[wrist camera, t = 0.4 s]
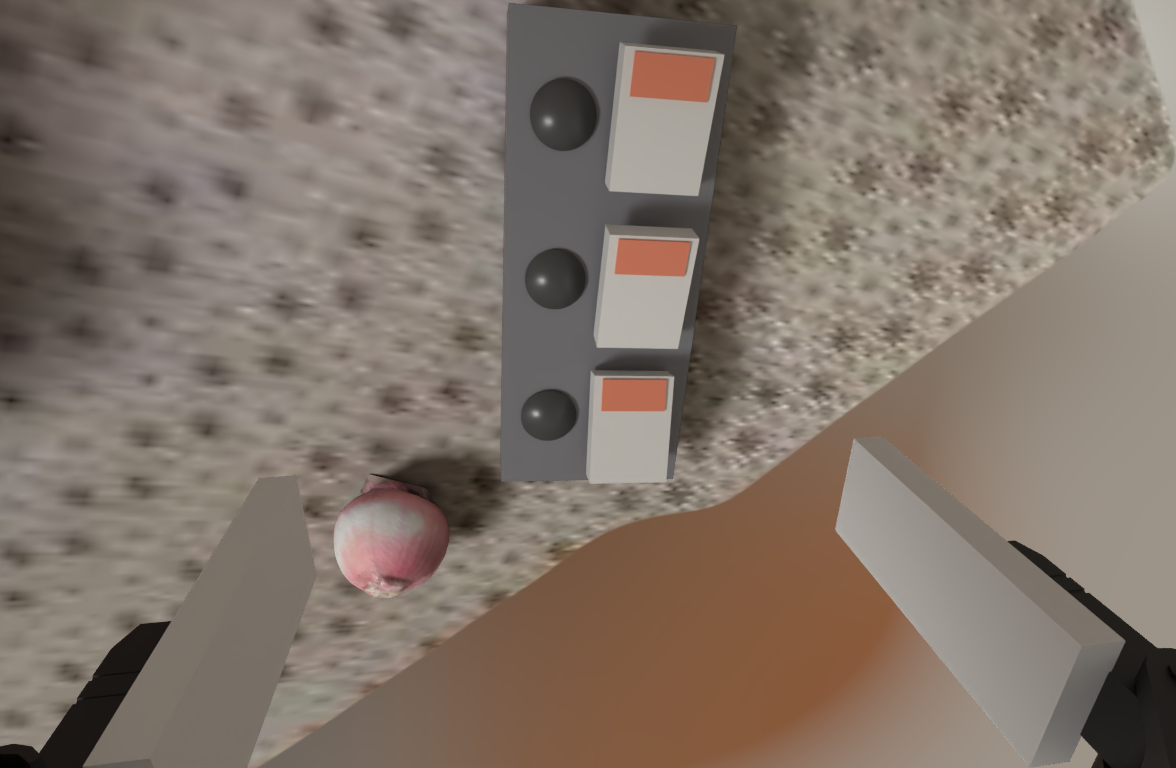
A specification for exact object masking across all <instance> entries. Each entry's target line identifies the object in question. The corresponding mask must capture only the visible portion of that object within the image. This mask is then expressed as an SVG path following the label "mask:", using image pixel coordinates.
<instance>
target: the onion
mask: <svg viewBox="0 0 1176 768" xmlns="http://www.w3.org/2000/svg"><path fill="white" fill-rule="evenodd" d="M364 493H365V494H364ZM362 494H363V495H362ZM448 542H449V526H448V522H447V519H446V517H445V515H444V514H443V512H442V511H441V510H440V509H439V508H438V507H437V506H436V505H435V504H434V502H433V500H432V498H431V496H430V494H429V492H428V490H427V488H424V487H419V486H415V485H411V484H407V483H403V482H399V481H395V480H391V479H387V478H383V477H378V476H375V475H370V474H369V476H368V478H367V480H366V482H365V484H364V486H363V488H362V490H361V496H358V497H357V498H355V499H354V500H352V501H351V502H350V503H349V504H348V505H347V506H346V507H345V508H344V509H343V510H342V511H341V512H340V514H339V516H338V519H337V522H336V525H335V530H334V549H335V555H336V559H337V562H338V564H339V567H340V569H341V571H342V573H343V574H344V575H345V577H346V578H347V579H348V580H349V582H350V583H352V584H353V585H355V586H356V587H358V588H360V589H362V590H363V591H365V592H366V593H367V594H369V595H370V596H372V597H376V598H391V597H396V596H398V595H400V594H402V593H404V592H405V591H408V590H410V589H413V588H415V587H417V586H419V585H421V584H423V583H424V582H425V581H427V580H428V579H429V578H430V577H431V576H432V575H433V574H434V572H435V571H436V570H437V568H438V567H439V565H440V563H441V562H442V560H443V558H444V556H445V554H446V550H447V547H448Z"/></svg>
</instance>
